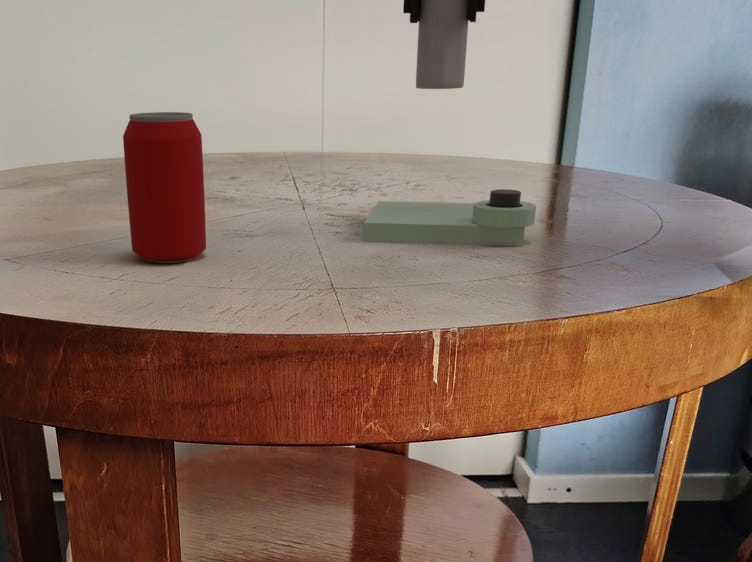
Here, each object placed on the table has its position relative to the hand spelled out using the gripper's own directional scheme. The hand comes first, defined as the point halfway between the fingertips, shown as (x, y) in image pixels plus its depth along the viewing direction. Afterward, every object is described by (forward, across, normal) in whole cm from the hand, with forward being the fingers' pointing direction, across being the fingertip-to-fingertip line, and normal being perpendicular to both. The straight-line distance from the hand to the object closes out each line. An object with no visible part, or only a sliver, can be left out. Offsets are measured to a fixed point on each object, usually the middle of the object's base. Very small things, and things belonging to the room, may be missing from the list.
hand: (443, 19), depth 83 cm
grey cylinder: (+6, 0, 0) cm, 6 cm away
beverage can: (+19, -22, -16) cm, 34 cm away
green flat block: (+19, +2, 0) cm, 19 cm away
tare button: (+16, +7, -5) cm, 18 cm away
